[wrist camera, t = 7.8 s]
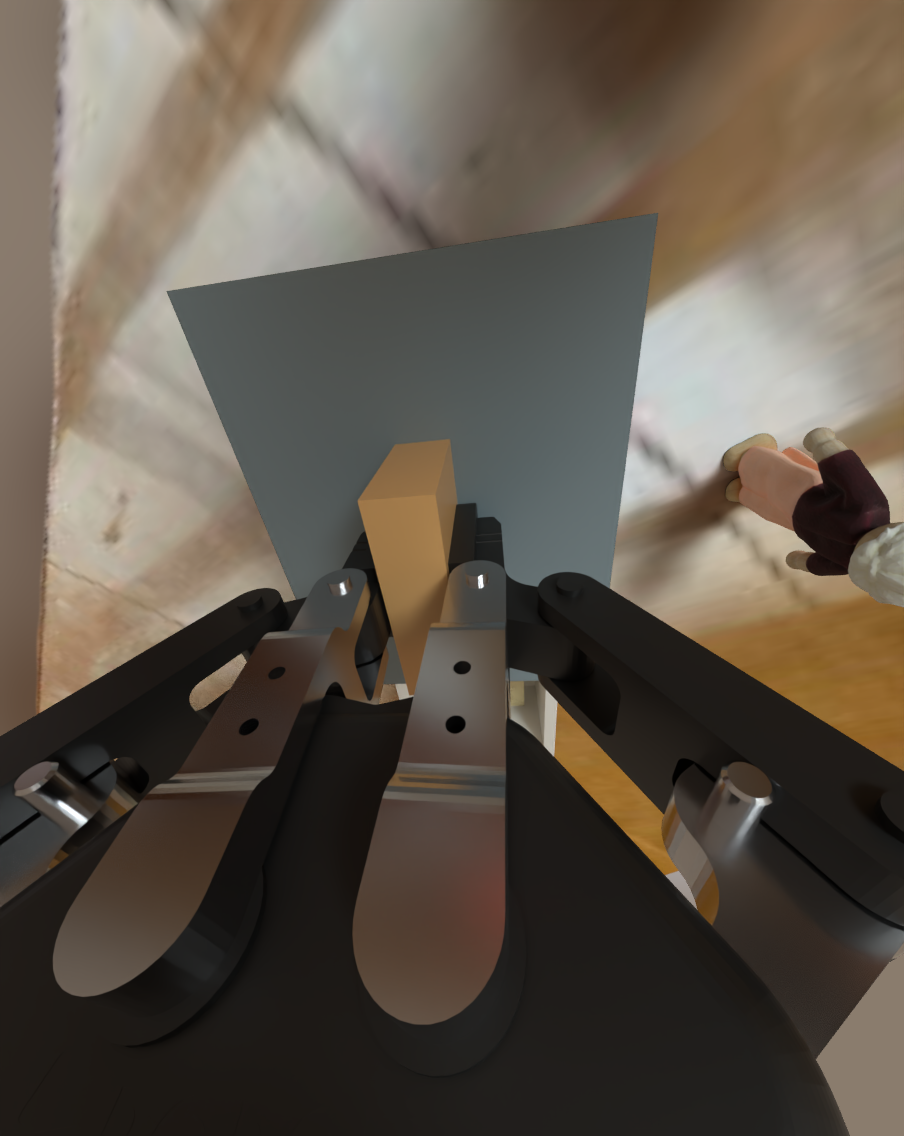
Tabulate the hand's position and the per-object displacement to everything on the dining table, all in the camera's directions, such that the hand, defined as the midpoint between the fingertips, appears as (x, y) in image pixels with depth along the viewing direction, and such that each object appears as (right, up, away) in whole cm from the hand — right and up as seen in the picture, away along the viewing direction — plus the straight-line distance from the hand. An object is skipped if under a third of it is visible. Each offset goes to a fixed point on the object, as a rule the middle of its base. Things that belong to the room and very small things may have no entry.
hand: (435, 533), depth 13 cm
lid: (0, +1, +2) cm, 2 cm away
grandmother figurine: (+19, +5, +11) cm, 22 cm away
